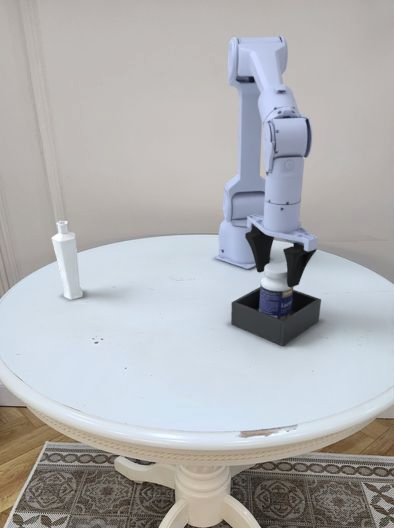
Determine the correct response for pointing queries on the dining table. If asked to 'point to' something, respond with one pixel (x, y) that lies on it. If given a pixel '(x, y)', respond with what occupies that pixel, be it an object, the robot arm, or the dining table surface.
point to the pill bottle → (275, 292)
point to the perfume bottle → (67, 260)
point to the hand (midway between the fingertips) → (277, 277)
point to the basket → (271, 327)
